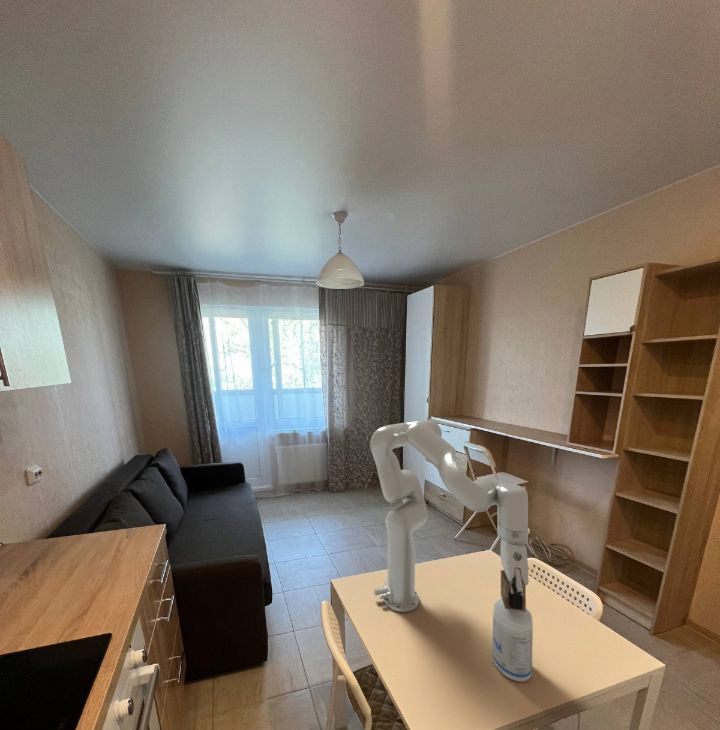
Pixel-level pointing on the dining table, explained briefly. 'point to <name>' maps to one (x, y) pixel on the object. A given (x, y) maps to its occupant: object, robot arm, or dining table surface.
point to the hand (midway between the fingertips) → (512, 599)
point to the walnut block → (506, 588)
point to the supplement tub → (512, 642)
